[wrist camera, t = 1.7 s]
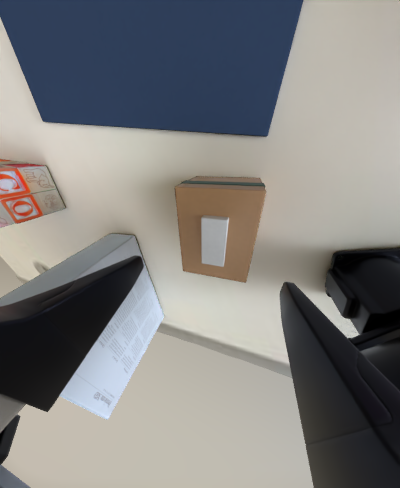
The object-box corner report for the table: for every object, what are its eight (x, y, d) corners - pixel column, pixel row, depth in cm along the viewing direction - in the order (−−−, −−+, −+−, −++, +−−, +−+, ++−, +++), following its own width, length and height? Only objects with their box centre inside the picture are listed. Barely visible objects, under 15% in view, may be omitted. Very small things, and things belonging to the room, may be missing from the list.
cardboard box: (261, 177, 14) (269, 192, 9) (246, 250, 18) (246, 288, 13) (195, 175, 15) (169, 187, 10) (197, 244, 20) (180, 275, 15)
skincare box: (107, 232, 23) (-67, 331, 10) (135, 233, 22) (-27, 352, 9) (144, 311, 34) (81, 409, 21) (164, 316, 33) (110, 424, 20)
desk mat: (419, -441, 4) (433, -490, 4) (266, 136, 12) (267, 136, 12) (-73, -178, 9) (-85, -190, 8) (46, 122, 16) (42, 121, 16)
